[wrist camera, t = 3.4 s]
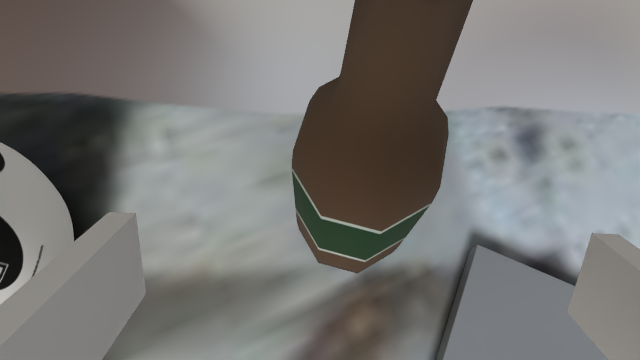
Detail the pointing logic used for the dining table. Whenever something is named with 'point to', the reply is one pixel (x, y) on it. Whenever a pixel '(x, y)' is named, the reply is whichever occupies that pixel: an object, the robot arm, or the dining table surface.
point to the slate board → (512, 314)
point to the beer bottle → (376, 132)
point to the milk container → (28, 221)
